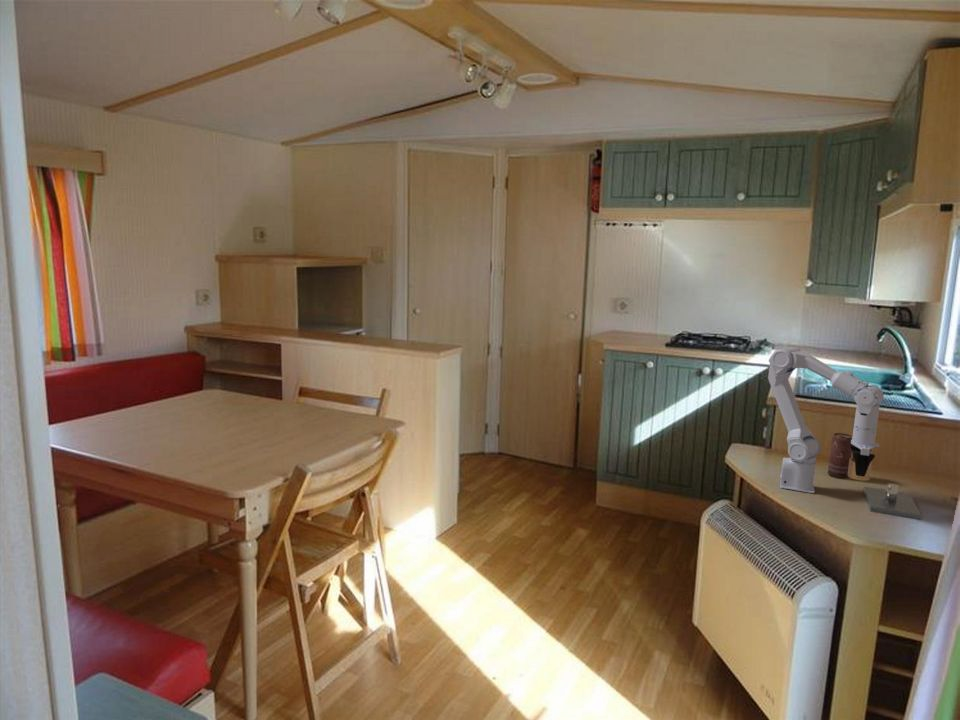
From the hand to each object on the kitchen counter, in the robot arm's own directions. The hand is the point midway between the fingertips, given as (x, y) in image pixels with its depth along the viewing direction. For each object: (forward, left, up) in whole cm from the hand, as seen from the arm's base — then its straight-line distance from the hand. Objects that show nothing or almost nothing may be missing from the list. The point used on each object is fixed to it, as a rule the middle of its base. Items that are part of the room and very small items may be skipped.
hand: (859, 472), depth 189 cm
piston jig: (+9, +4, -10) cm, 14 cm away
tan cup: (0, 0, -1) cm, 1 cm away
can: (-3, +25, -10) cm, 27 cm away
